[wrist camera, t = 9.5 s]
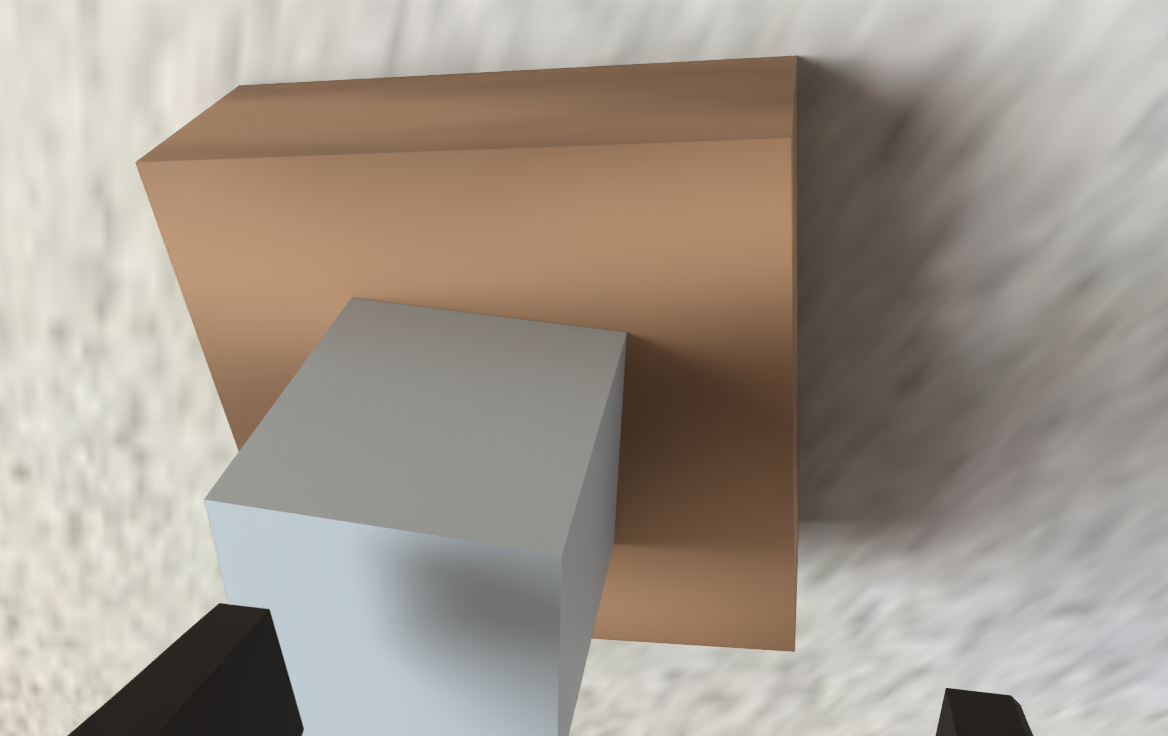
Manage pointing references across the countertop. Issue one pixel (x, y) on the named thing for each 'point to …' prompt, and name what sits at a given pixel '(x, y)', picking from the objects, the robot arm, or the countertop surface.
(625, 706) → the countertop surface
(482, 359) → the slate block
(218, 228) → the walnut block
